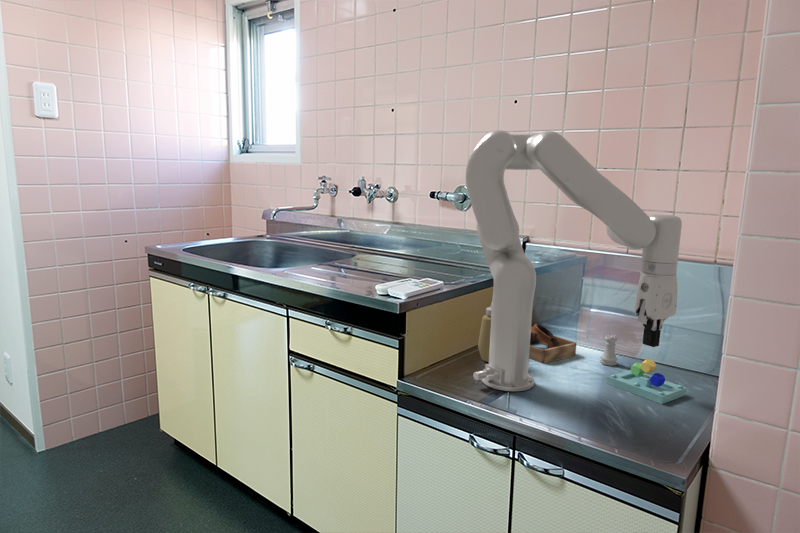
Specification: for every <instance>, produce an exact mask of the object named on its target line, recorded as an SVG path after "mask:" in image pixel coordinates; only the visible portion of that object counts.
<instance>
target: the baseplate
mask: <svg viewBox="0 0 800 533" xmlns="http://www.w3.org/2000/svg"><path fill="white" fill-rule="evenodd" d="M643 375H648V376H651V375H650V374H648V373H644V374H643ZM639 377H640V376H635V375H634V374H632V372H631V369H629V370H626V371H622V372H619V373H614V374H611V375H609V376H607V384H608V385H610V386H613V387H614V388H615V387H616V388H618V389H620V390H623V391H626V392H628V393H631V394H634V395H636V396H639V397H641V398H645V399H647V400H650V401H652V402H654V403H656V404H660V405H663V404H667V403H668V402H672V401H673V400H677V399H680V398H682V397H685V396H686V395H687V387H685V386H684V385H682V384H676V383H673V382H671V381H668V380H665V382H664V384H663V385H662V386H660V387H657V386H654V385H653V384H652V386H650V387H646V386H643V385H640V384H639V383H638V378H639Z"/></svg>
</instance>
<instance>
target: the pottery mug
mask: <svg viewBox="0 0 800 533" xmlns="http://www.w3.org/2000/svg"><path fill="white" fill-rule="evenodd" d="M536 335H537V337H538V338H540V339H541V340H543V341H545V342H546V343H548V346H547V347H546V349H549V348H553V341H554V340H555V337H554V336H555V335H554V334H553V333H552V332H551V330H549V329H548V328H546V327H545V326H543V325H541V324H539V323H534V324H533V326H531V338H530V345H532V344H533V342H535V341H534V340H535V337H536Z"/></svg>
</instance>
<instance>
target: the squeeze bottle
mask: <svg viewBox="0 0 800 533" xmlns="http://www.w3.org/2000/svg"><path fill="white" fill-rule="evenodd" d="M491 309H492V302H491V303H490V306H488V307H486V308H485V315H483V316H482V318H481V325H480V329H479V330H480V331H479V336H478V343H477V347H478V348H477V349H478V352H479V355H480V358H481V360H482V361H484V362H486V363H487V362H488V363H489V350H490V331H491Z"/></svg>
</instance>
